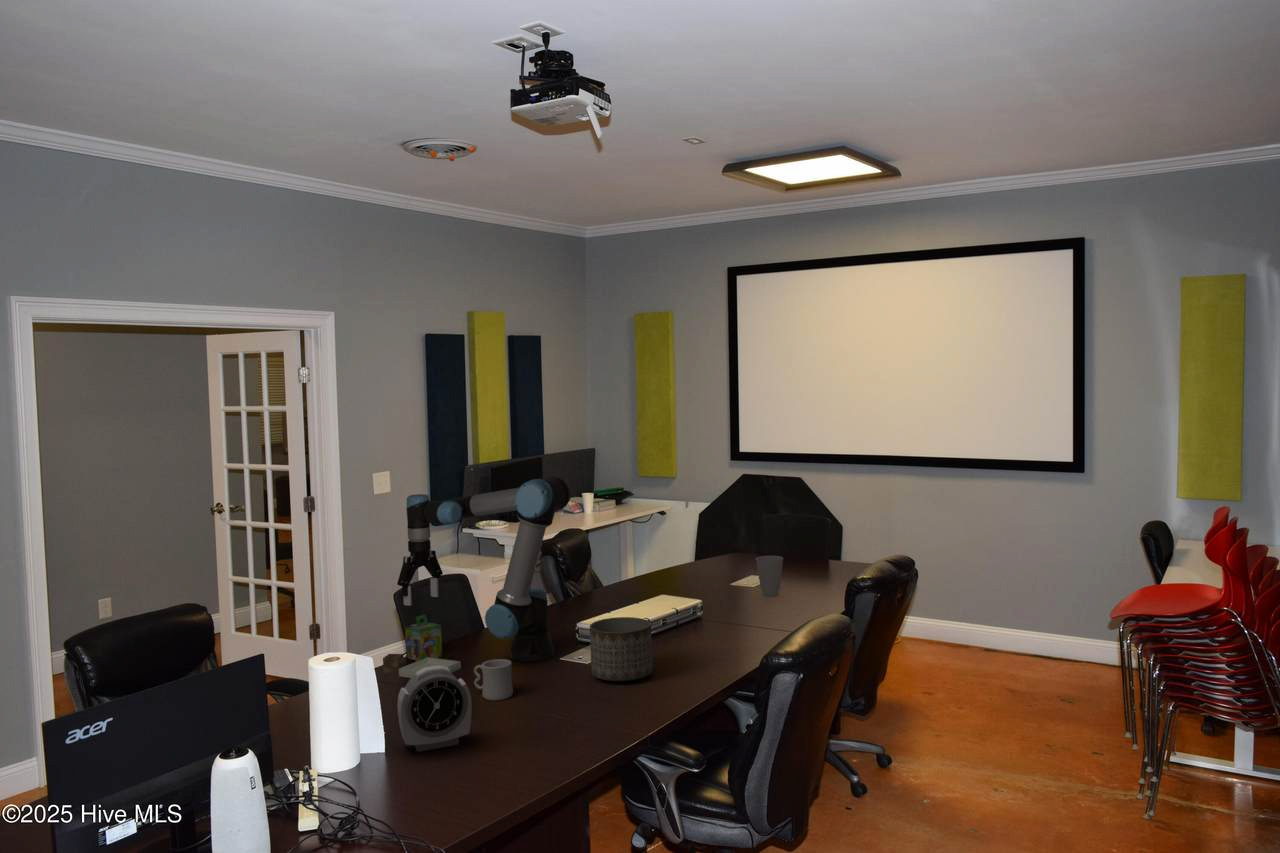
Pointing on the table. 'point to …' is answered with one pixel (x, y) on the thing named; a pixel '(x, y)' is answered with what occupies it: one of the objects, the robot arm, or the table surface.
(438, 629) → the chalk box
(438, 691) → the alarm clock
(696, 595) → the table surface
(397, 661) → the walnut block
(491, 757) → the table surface
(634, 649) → the planter
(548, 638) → the robot arm
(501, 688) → the mug
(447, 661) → the tray
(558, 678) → the table surface
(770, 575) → the cup
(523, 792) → the table surface
